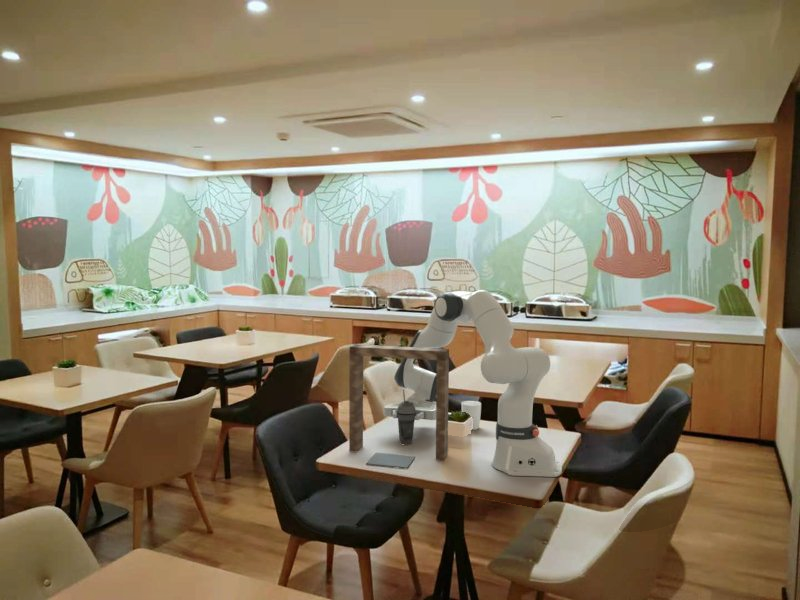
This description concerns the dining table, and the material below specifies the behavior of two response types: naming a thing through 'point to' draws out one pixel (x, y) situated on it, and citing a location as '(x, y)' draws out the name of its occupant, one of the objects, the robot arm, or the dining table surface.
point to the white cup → (472, 411)
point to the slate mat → (391, 460)
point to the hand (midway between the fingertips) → (405, 417)
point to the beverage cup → (406, 421)
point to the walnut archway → (397, 352)
